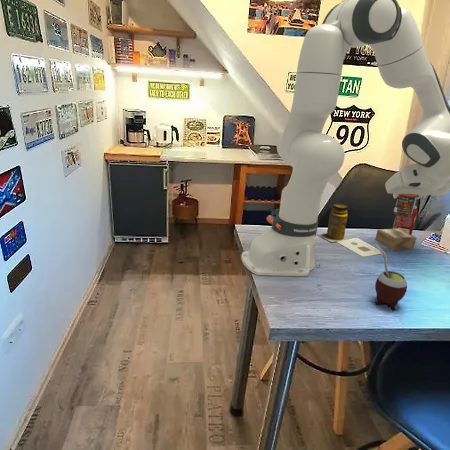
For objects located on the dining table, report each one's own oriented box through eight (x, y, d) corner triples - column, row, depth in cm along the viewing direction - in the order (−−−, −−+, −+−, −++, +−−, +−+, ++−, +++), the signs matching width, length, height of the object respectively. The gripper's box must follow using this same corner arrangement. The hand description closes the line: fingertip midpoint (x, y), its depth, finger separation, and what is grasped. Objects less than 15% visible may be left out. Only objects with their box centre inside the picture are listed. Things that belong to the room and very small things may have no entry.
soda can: (408, 240, 130) (417, 209, 126) (389, 235, 134) (397, 205, 130) (412, 235, 136) (420, 205, 131) (393, 230, 139) (401, 201, 135)
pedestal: (392, 249, 121) (394, 238, 119) (375, 239, 129) (377, 228, 128) (413, 248, 123) (416, 237, 122) (395, 238, 131) (398, 227, 130)
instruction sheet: (362, 257, 114) (363, 256, 114) (335, 241, 125) (335, 240, 125) (385, 253, 118) (385, 252, 118) (356, 238, 129) (356, 237, 129)
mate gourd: (407, 310, 86) (423, 255, 81) (379, 313, 85) (394, 256, 79) (388, 294, 93) (402, 242, 88) (361, 296, 91) (374, 243, 86)
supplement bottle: (393, 216, 120) (400, 184, 116) (392, 211, 125) (399, 180, 121) (412, 218, 118) (420, 186, 114) (410, 213, 124) (418, 182, 120)
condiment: (348, 239, 127) (354, 207, 123) (331, 242, 123) (337, 209, 119) (334, 232, 133) (339, 202, 129) (317, 235, 129) (321, 204, 125)
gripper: (459, 168, 110) (431, 190, 123) (397, 165, 108) (375, 187, 121) (465, 185, 107) (436, 206, 120) (402, 183, 105) (379, 204, 118)
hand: (405, 196), depth 120 cm, fingers closed on supplement bottle, 6 cm apart
